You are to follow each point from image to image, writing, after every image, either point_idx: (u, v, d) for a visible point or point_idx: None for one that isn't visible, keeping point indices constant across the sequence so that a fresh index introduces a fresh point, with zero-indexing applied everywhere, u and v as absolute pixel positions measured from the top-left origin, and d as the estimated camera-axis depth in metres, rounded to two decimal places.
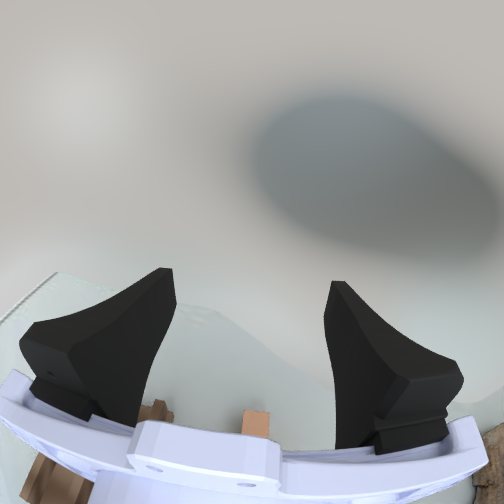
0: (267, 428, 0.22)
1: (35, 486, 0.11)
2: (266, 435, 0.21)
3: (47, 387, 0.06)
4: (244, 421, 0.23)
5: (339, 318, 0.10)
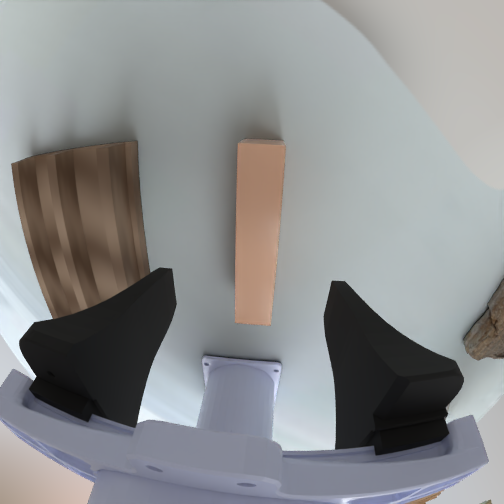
0: (281, 180, 0.15)
1: (61, 315, 0.23)
2: (279, 196, 0.15)
3: (47, 387, 0.06)
4: (240, 167, 0.14)
5: (339, 318, 0.10)
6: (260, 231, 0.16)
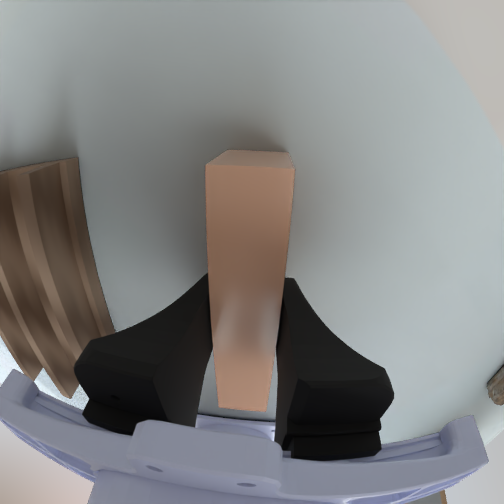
0: (285, 232, 0.08)
1: (25, 361, 0.17)
2: (281, 259, 0.09)
3: (106, 411, 0.06)
4: (211, 210, 0.08)
5: (280, 315, 0.10)
6: (249, 310, 0.10)
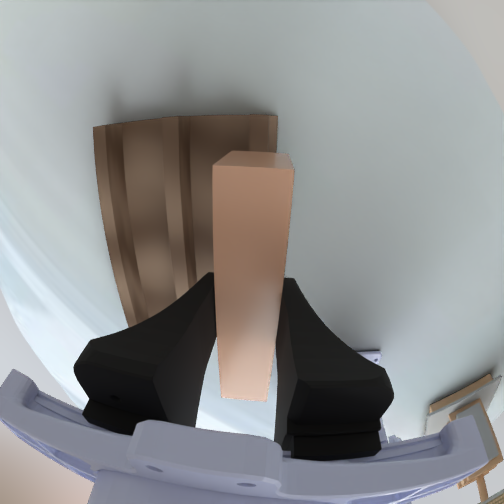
0: (285, 227, 0.09)
1: (140, 321, 0.22)
2: (281, 252, 0.09)
3: (106, 411, 0.06)
4: (217, 207, 0.09)
5: (280, 315, 0.10)
6: (252, 301, 0.10)
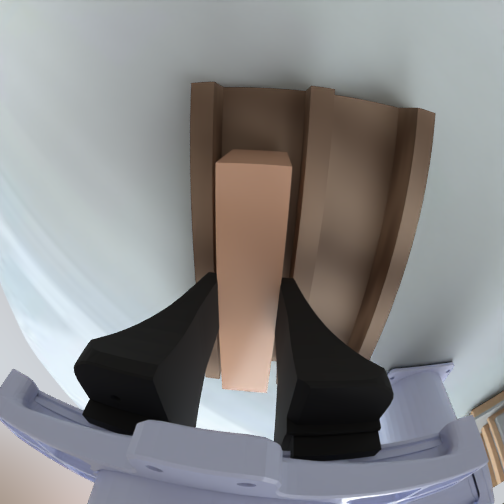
0: (284, 221, 0.10)
1: (219, 352, 0.18)
2: (280, 244, 0.10)
3: (106, 411, 0.06)
4: (220, 201, 0.09)
5: (280, 315, 0.10)
6: (252, 292, 0.11)
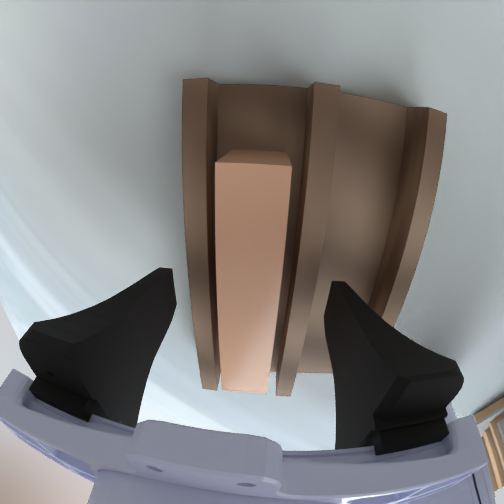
0: (284, 221, 0.10)
1: (216, 363, 0.17)
2: (280, 244, 0.10)
3: (47, 387, 0.06)
4: (219, 201, 0.09)
5: (339, 318, 0.10)
6: (252, 292, 0.11)
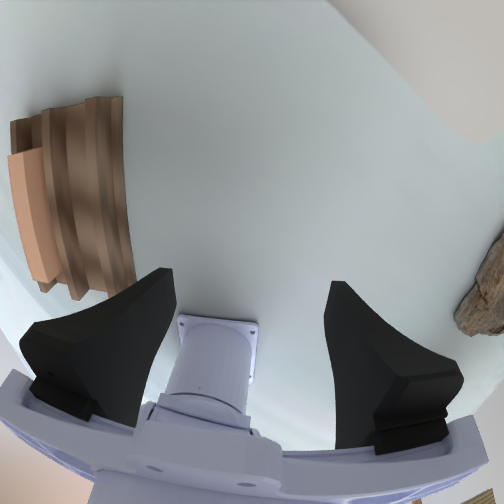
0: (24, 175, 0.16)
1: None
2: (24, 185, 0.16)
3: (47, 387, 0.06)
4: (9, 171, 0.16)
5: (339, 318, 0.10)
6: (23, 210, 0.17)
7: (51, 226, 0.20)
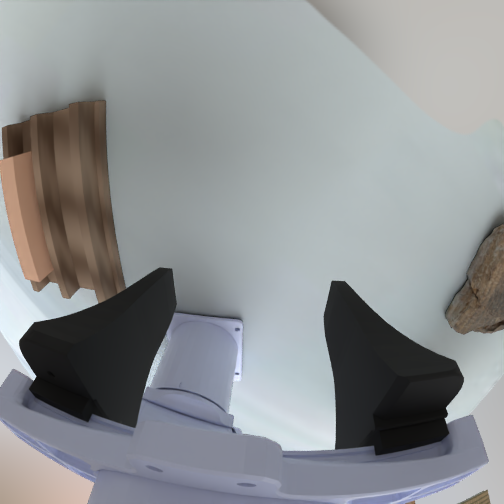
0: (14, 178, 0.16)
1: None
2: (15, 188, 0.16)
3: (47, 387, 0.06)
4: (1, 174, 0.16)
5: (339, 318, 0.10)
6: (14, 212, 0.17)
7: (41, 227, 0.21)
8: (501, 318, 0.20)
